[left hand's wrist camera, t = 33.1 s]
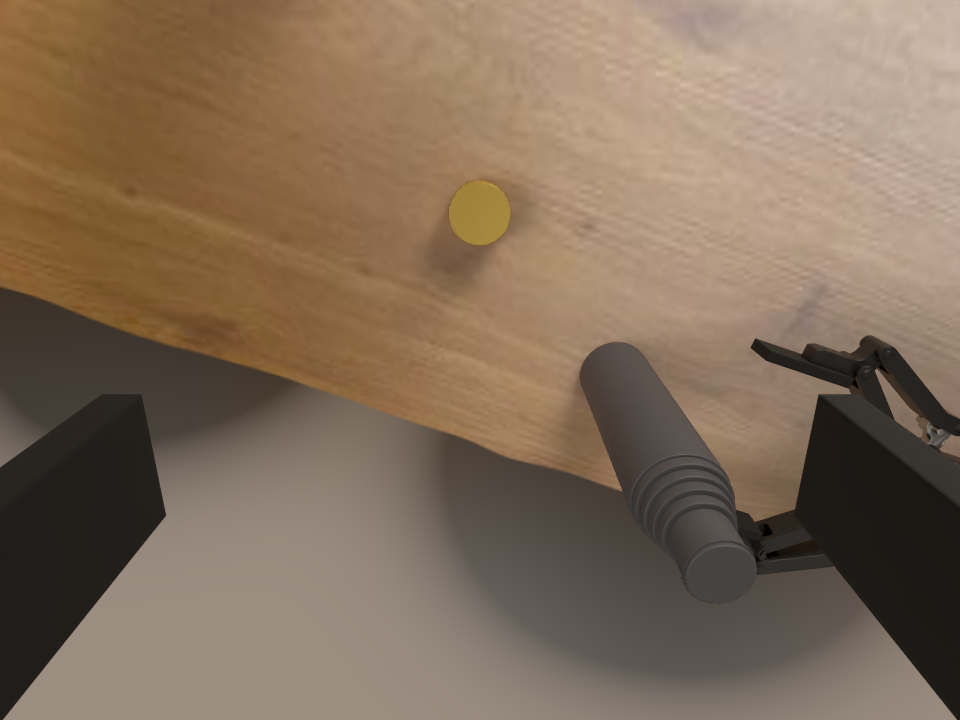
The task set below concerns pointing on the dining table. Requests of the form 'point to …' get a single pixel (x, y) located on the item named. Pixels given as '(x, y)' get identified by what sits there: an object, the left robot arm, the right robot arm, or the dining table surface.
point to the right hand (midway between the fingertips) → (717, 430)
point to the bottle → (668, 474)
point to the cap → (479, 212)
